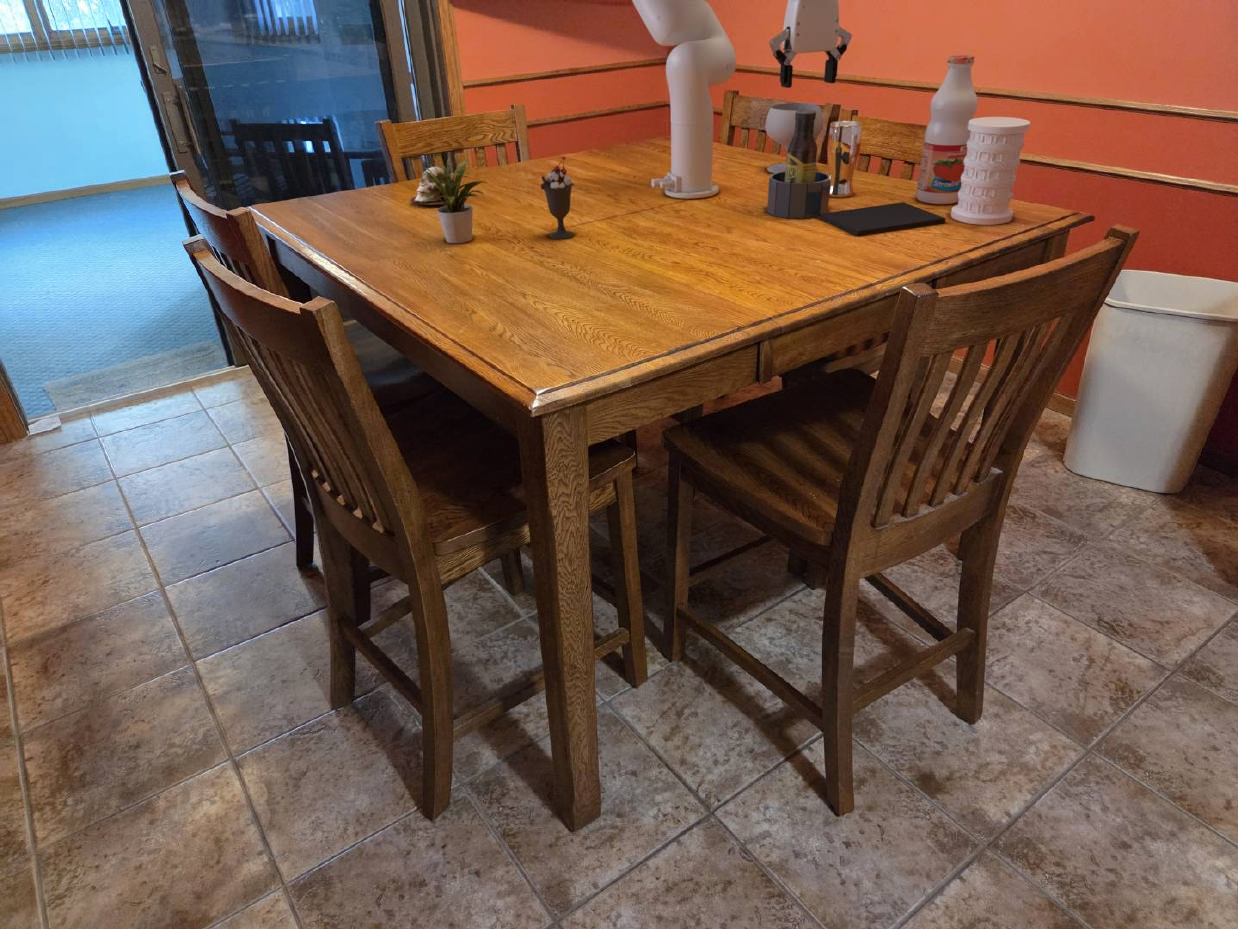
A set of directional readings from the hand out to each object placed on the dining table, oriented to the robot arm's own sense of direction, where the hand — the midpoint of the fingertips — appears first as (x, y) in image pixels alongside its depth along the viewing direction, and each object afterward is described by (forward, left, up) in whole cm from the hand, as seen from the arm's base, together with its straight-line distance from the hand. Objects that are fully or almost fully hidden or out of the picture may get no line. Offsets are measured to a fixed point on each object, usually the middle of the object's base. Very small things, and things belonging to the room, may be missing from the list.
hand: (808, 84), depth 161 cm
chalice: (+17, +34, -25) cm, 46 cm away
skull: (-71, +46, -25) cm, 88 cm away
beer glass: (+15, +8, -25) cm, 30 cm away
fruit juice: (+31, -6, -25) cm, 40 cm away
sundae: (-51, +5, -25) cm, 57 cm away
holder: (0, 0, -25) cm, 25 cm away
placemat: (+11, -14, -25) cm, 30 cm away
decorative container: (+30, -21, -25) cm, 44 cm away
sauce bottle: (0, 0, -25) cm, 25 cm away
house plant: (-72, +11, -25) cm, 77 cm away
